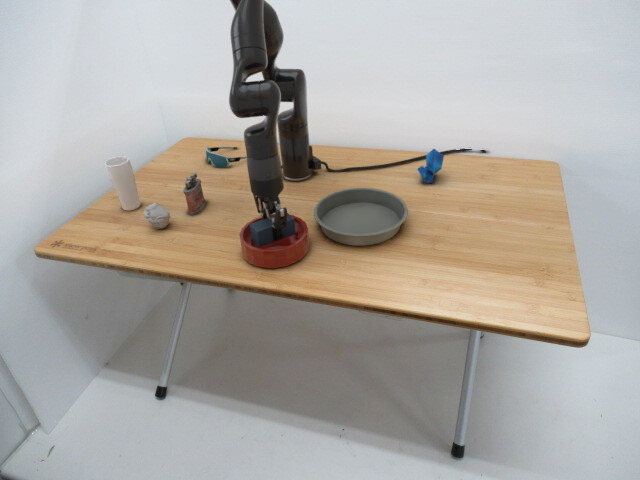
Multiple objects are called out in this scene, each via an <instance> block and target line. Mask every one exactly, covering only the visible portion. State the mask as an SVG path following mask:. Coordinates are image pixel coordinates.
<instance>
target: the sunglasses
mask: <svg viewBox="0 0 640 480" xmlns="http://www.w3.org/2000/svg"><path fill="white" fill-rule="evenodd" d="M223 149H224V150H237V149H238V147H237V146H217V147H205V158H206V162H207V163H210V164H211V165H212V166H214V167H215V168H229V166H230V164H231V163H237V162H240V160H245V159H247V155H245V156H238V157H229V156H227V155H223V154H219V153H216V152H218V151H219V150H223Z"/></svg>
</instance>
